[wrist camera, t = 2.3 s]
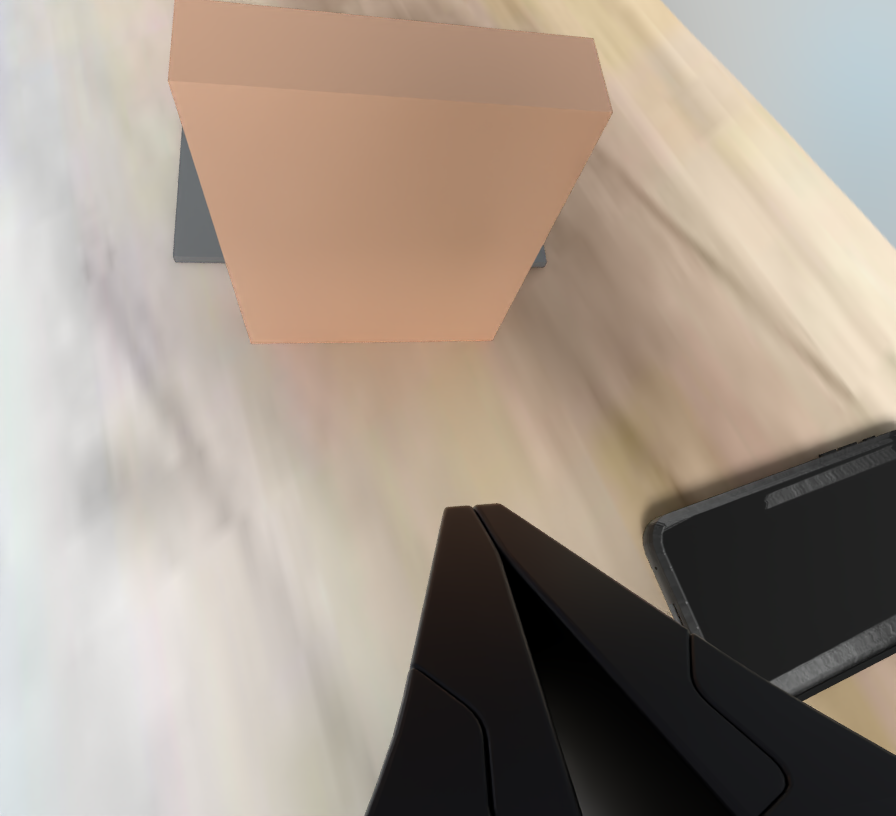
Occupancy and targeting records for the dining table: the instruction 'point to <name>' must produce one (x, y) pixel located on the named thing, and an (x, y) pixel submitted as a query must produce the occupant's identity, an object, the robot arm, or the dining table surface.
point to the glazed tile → (379, 164)
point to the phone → (790, 568)
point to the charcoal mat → (195, 221)
